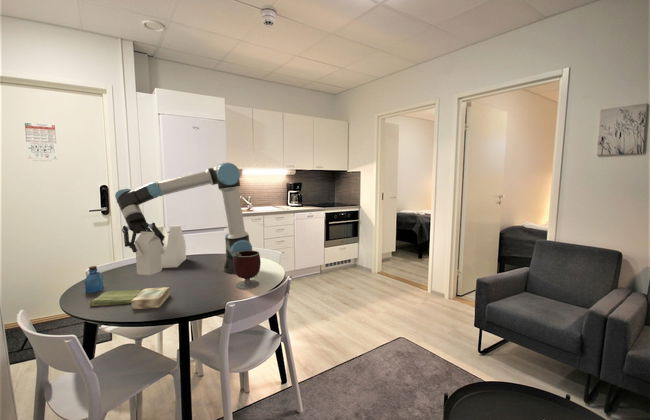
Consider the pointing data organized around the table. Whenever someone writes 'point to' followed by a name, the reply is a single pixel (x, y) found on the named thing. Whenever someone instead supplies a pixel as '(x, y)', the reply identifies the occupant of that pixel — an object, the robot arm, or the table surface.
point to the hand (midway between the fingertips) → (152, 254)
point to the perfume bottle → (93, 280)
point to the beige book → (150, 298)
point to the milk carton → (149, 254)
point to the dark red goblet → (246, 268)
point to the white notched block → (173, 247)
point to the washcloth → (115, 298)
